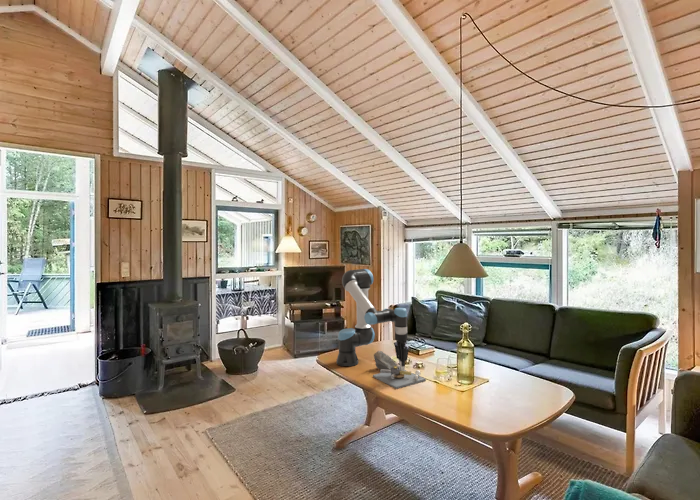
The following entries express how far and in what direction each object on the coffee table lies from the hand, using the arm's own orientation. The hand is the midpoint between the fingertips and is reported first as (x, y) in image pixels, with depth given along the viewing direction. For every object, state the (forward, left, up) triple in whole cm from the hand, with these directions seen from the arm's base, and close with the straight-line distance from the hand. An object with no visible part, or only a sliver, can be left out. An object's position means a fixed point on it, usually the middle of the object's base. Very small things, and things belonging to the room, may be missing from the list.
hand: (402, 370), depth 240 cm
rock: (-17, 0, -4) cm, 17 cm away
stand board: (+2, -4, -4) cm, 6 cm away
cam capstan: (+1, -6, -2) cm, 6 cm away
